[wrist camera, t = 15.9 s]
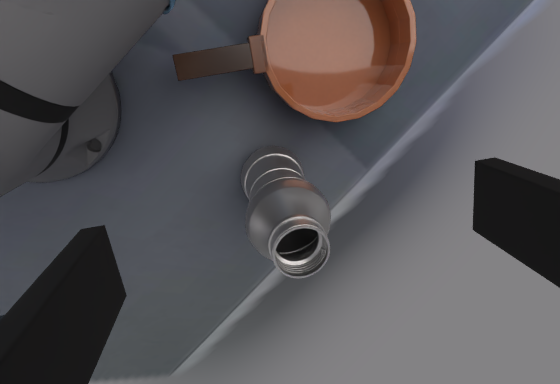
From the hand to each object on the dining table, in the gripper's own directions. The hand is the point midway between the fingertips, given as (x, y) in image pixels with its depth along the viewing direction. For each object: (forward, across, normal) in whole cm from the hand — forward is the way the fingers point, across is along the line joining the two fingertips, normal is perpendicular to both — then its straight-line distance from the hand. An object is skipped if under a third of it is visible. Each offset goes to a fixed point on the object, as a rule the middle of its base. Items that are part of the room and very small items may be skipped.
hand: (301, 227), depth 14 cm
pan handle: (+27, -2, +6) cm, 27 cm away
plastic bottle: (+29, +1, -6) cm, 30 cm away
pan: (+29, +9, +6) cm, 31 cm away
